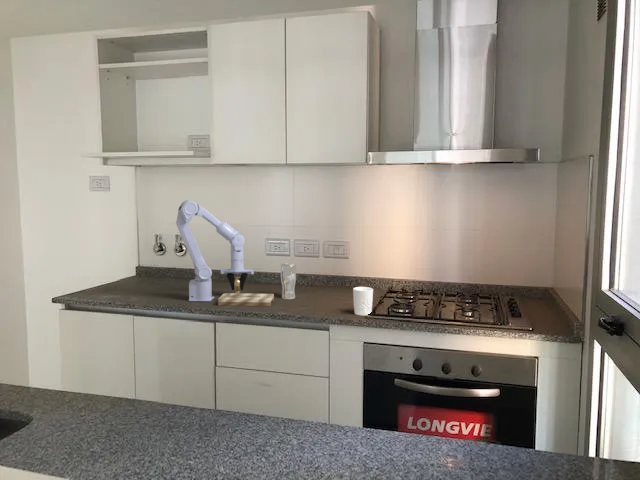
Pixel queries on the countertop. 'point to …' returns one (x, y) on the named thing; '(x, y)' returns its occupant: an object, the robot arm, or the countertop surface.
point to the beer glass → (288, 280)
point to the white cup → (362, 300)
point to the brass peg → (237, 284)
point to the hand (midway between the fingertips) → (237, 289)
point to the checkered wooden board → (245, 299)
